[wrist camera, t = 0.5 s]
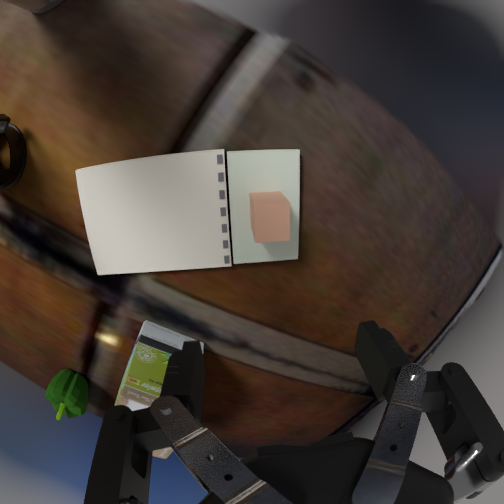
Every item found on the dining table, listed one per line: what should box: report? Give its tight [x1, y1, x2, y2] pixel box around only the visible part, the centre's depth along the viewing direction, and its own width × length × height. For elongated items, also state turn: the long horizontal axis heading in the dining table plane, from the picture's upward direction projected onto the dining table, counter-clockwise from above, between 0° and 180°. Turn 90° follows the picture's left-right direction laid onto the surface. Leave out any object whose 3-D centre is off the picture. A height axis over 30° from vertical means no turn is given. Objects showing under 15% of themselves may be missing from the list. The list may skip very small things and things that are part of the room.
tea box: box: [114, 320, 204, 459], centre depth 36 cm, size 15×10×15 cm
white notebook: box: [75, 149, 231, 275], centre depth 32 cm, size 18×14×1 cm
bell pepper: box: [45, 369, 88, 420], centre depth 39 cm, size 8×8×10 cm
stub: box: [227, 149, 300, 264], centre depth 31 cm, size 8×13×6 cm, turn 2°
